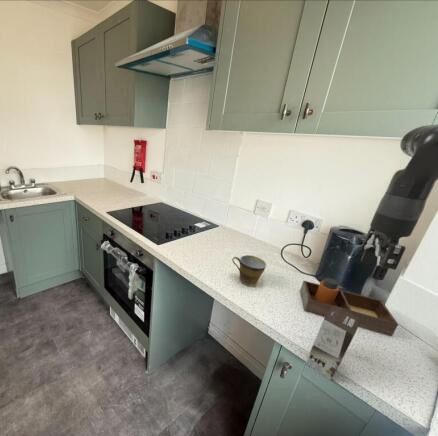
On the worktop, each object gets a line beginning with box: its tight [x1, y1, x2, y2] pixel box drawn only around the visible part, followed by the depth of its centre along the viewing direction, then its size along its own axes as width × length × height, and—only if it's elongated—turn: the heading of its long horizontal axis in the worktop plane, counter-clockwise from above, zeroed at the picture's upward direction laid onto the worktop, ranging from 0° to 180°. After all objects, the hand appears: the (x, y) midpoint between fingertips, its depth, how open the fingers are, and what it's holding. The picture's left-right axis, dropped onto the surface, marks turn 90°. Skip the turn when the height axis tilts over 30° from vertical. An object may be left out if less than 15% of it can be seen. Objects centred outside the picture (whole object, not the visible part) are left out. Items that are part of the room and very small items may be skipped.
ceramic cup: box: [231, 254, 267, 287], centre depth 102 cm, size 13×10×10 cm
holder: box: [299, 280, 399, 337], centre depth 87 cm, size 13×24×6 cm, turn 66°
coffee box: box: [305, 306, 361, 381], centre depth 66 cm, size 9×6×16 cm
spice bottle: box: [314, 277, 340, 305], centre depth 88 cm, size 6×6×11 cm
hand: (370, 270), depth 65 cm, fingers open, 8 cm apart
